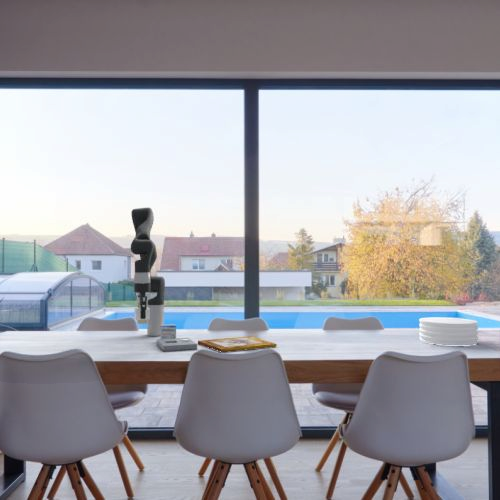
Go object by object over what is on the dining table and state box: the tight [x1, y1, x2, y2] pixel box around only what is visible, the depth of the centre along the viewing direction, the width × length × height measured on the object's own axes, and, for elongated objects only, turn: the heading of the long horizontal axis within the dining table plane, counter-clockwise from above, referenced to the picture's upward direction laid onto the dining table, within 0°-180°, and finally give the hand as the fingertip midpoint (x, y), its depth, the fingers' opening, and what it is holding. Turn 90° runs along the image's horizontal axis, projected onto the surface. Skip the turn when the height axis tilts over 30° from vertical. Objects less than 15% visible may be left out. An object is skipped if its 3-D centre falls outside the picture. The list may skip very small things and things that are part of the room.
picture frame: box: [197, 335, 277, 353], centre depth 233 cm, size 27×2×30 cm
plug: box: [134, 307, 150, 325], centre depth 220 cm, size 6×6×7 cm
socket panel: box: [156, 337, 198, 352], centre depth 228 cm, size 20×16×3 cm
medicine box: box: [159, 324, 177, 339], centre depth 244 cm, size 8×4×9 cm, turn 105°
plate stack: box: [418, 316, 479, 345], centre depth 243 cm, size 28×28×12 cm
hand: (142, 317), depth 220 cm, fingers closed on plug, 5 cm apart
